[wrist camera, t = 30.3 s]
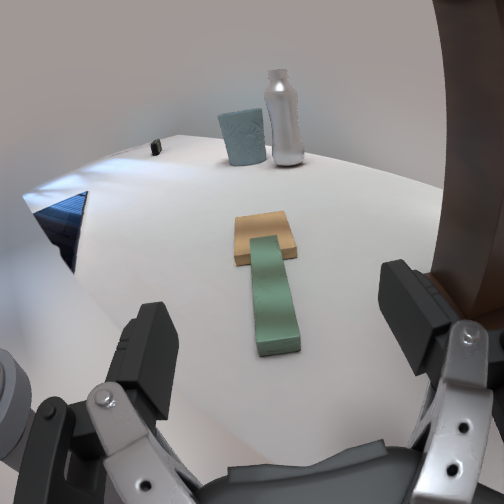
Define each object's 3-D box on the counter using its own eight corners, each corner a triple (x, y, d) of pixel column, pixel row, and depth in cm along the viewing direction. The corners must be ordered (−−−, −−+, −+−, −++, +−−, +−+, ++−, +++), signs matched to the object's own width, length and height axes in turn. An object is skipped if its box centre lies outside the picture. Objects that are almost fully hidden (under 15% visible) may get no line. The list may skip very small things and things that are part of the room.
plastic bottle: (312, 163, 57) (301, 67, 47) (285, 171, 55) (272, 68, 45) (292, 159, 62) (281, 71, 52) (267, 166, 60) (253, 73, 50)
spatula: (324, 347, 19) (325, 331, 18) (235, 359, 19) (231, 345, 18) (284, 219, 36) (283, 208, 35) (236, 226, 36) (234, 215, 36)
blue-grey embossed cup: (257, 166, 61) (249, 111, 55) (217, 167, 65) (208, 117, 59) (275, 155, 68) (269, 107, 62) (238, 156, 73) (231, 111, 67)
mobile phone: (157, 142, 98) (160, 137, 110) (149, 144, 97) (153, 139, 110) (160, 155, 100) (162, 148, 113) (152, 157, 100) (155, 150, 113)
